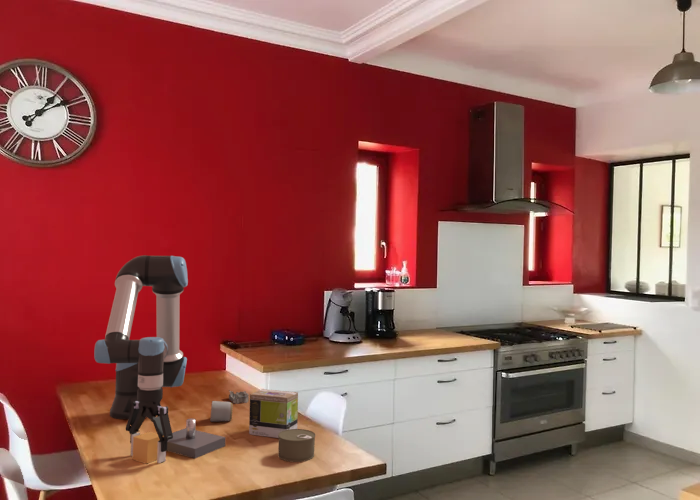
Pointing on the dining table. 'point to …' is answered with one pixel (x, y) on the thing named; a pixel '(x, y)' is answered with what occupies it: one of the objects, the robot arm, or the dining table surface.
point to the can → (296, 445)
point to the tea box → (272, 412)
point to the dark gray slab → (194, 443)
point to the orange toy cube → (145, 447)
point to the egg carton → (239, 397)
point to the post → (190, 428)
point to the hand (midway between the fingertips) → (147, 458)
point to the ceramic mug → (221, 411)
